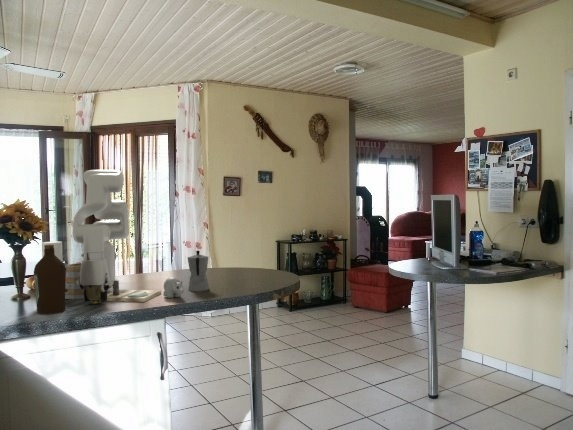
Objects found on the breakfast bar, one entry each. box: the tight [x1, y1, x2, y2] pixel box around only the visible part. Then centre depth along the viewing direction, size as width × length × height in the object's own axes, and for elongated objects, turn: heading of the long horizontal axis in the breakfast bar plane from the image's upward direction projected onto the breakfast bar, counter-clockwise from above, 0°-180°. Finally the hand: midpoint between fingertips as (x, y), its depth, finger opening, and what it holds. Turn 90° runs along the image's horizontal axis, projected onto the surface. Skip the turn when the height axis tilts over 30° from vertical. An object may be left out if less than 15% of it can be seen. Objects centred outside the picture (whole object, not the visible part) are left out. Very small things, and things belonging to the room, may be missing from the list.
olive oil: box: [33, 245, 67, 315], centre depth 166 cm, size 11×11×25 cm
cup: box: [85, 285, 105, 305], centre depth 178 cm, size 8×7×8 cm
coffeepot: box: [186, 250, 210, 293], centre depth 202 cm, size 15×9×18 cm, turn 10°
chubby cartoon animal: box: [163, 276, 185, 299], centre depth 186 cm, size 7×12×8 cm, turn 40°
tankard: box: [65, 262, 84, 300], centre depth 197 cm, size 20×13×15 cm, turn 160°
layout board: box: [105, 279, 162, 303], centre depth 189 cm, size 20×16×8 cm
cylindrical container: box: [41, 241, 64, 263], centre depth 178 cm, size 7×7×25 cm
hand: (95, 300), depth 178 cm, fingers closed on cup, 6 cm apart
